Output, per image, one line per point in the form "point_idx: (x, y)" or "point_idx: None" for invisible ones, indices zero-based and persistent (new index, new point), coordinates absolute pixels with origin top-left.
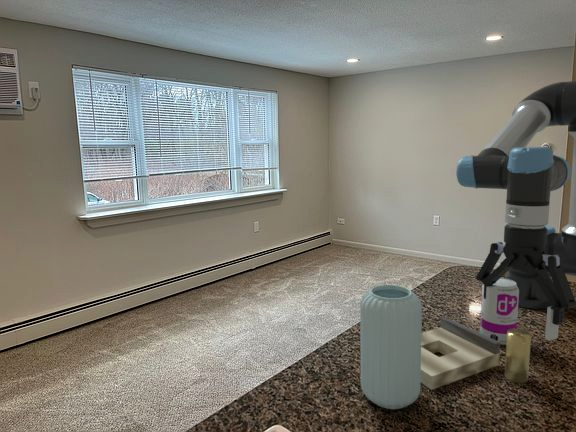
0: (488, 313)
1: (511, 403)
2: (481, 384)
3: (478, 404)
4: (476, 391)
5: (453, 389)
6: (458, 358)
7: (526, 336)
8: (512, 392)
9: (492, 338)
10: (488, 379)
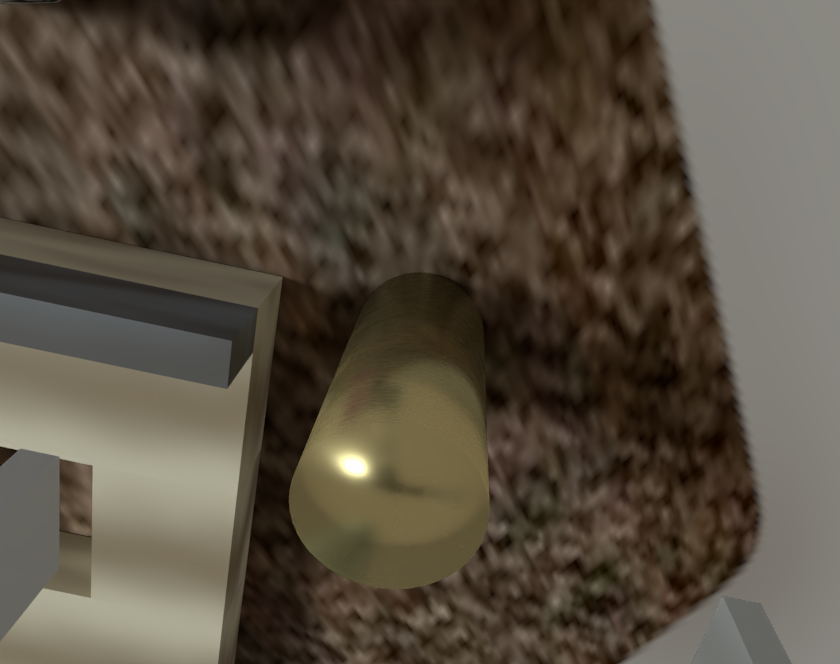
0: (43, 581)
1: (513, 562)
2: None
3: (419, 652)
4: None
5: (284, 630)
6: (159, 544)
7: (462, 524)
8: None
9: (37, 1)
10: None
